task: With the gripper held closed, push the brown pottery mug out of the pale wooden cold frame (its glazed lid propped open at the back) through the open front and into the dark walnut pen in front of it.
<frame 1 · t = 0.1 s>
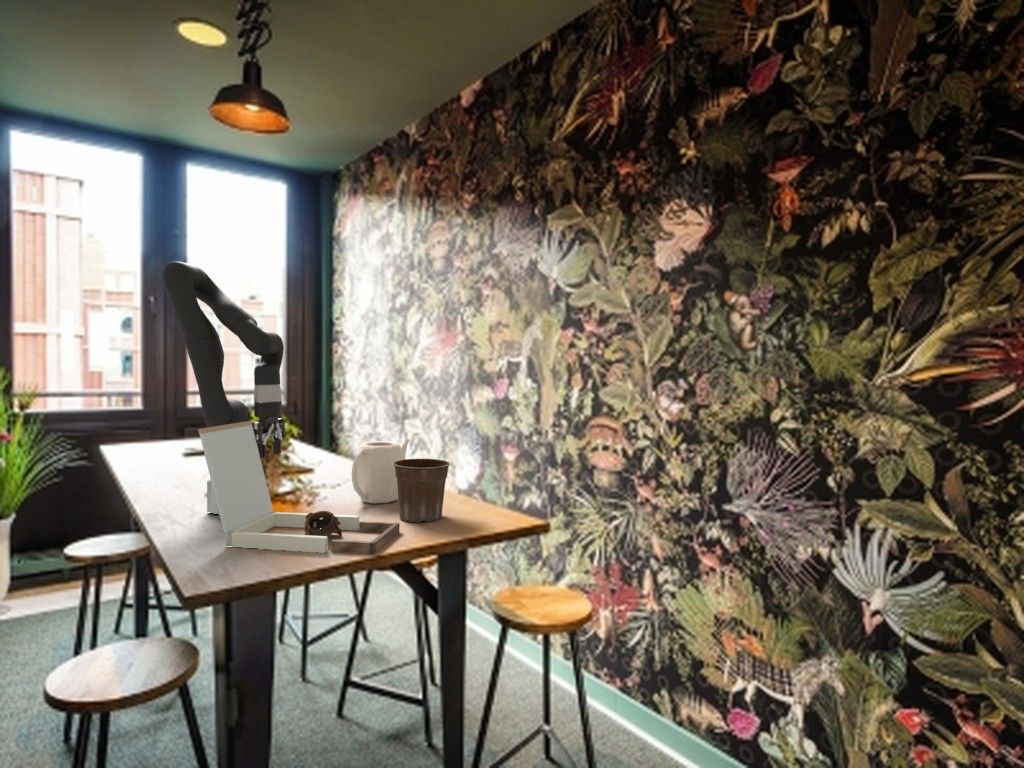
hand: (269, 455, 175), 17 cm above the table, tool pointing down, fingers open, 8 cm apart
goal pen: (366, 541, 150), on the table
plant pot: (421, 518, 174), on the table
watering can: (382, 500, 196), on the table
pottery mug: (321, 540, 152), on the table
cold frame: (296, 537, 152), on the table
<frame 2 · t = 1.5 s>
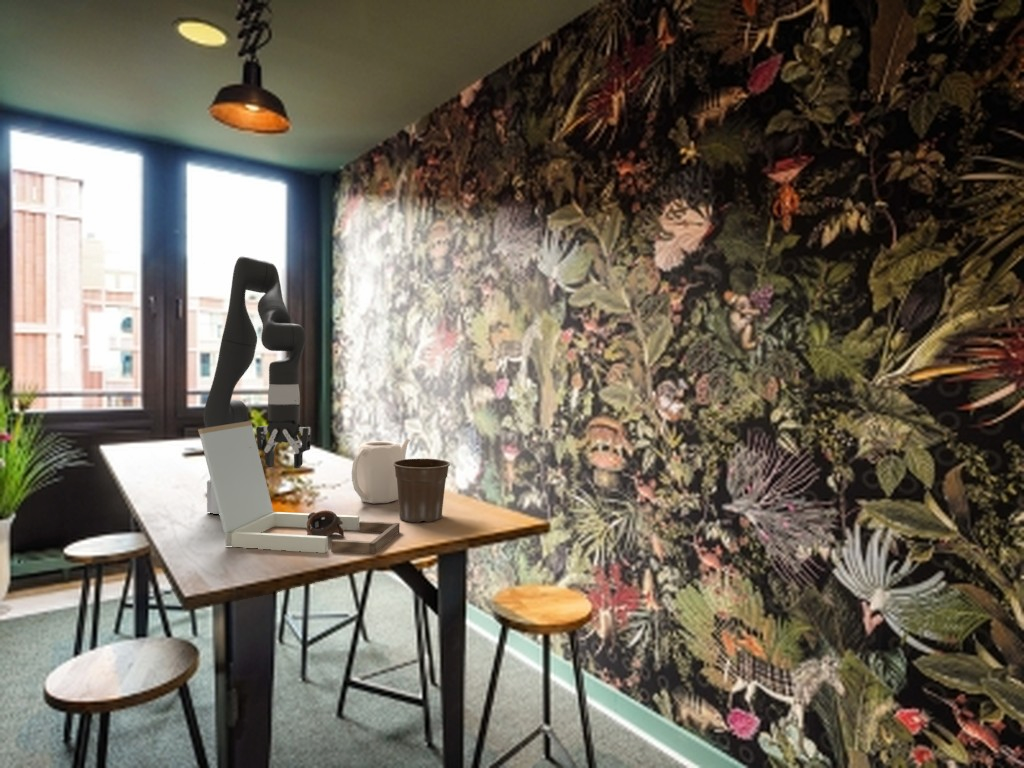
hand: (284, 467, 152), 18 cm above the table, tool pointing down, fingers open, 6 cm apart
nothing on the table moved.
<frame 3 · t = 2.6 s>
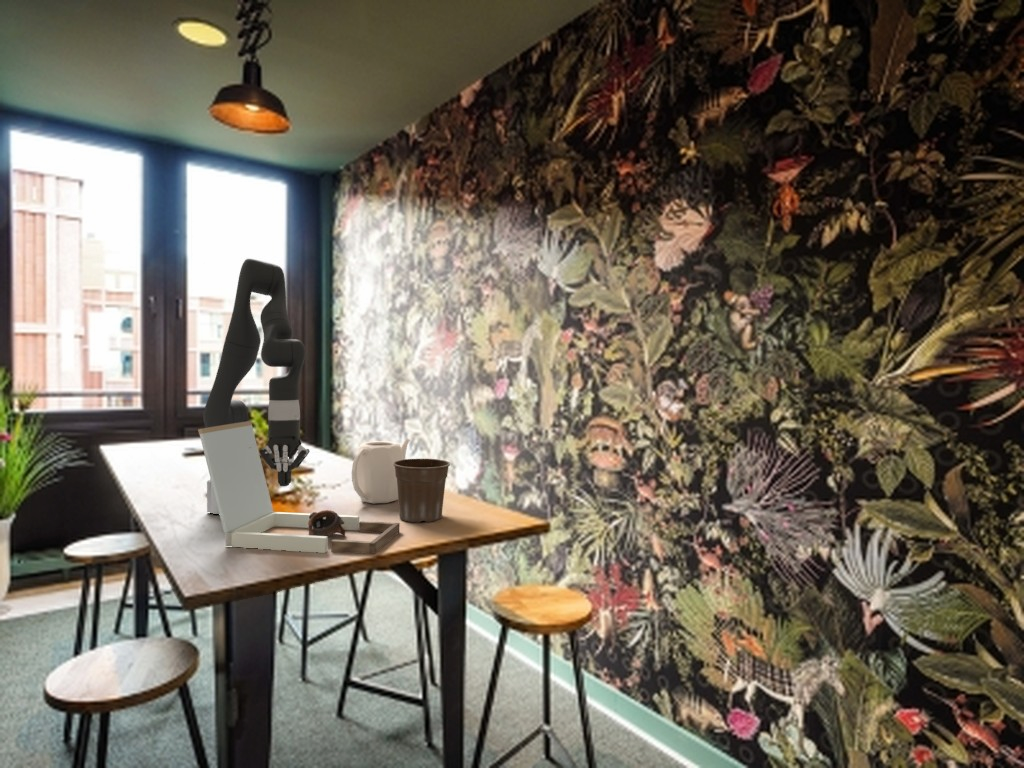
hand: (284, 485, 153), 13 cm above the table, tool pointing down, fingers closed
nothing on the table moved.
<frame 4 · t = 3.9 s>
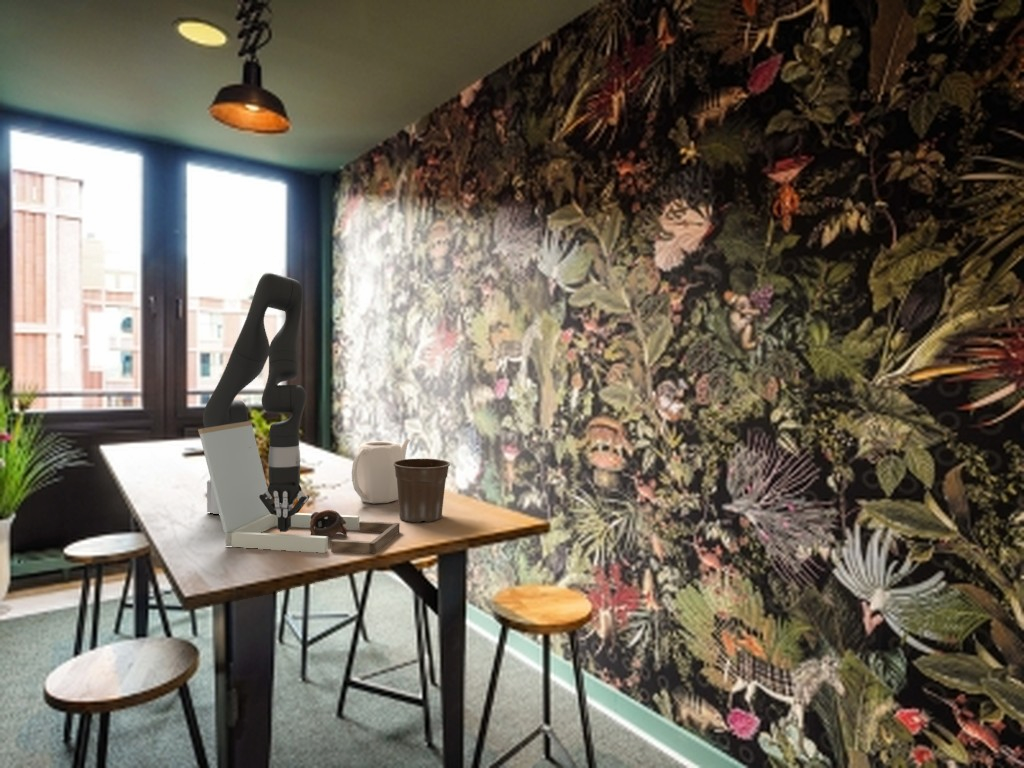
hand: (284, 531, 153), 2 cm above the table, tool pointing down, fingers closed
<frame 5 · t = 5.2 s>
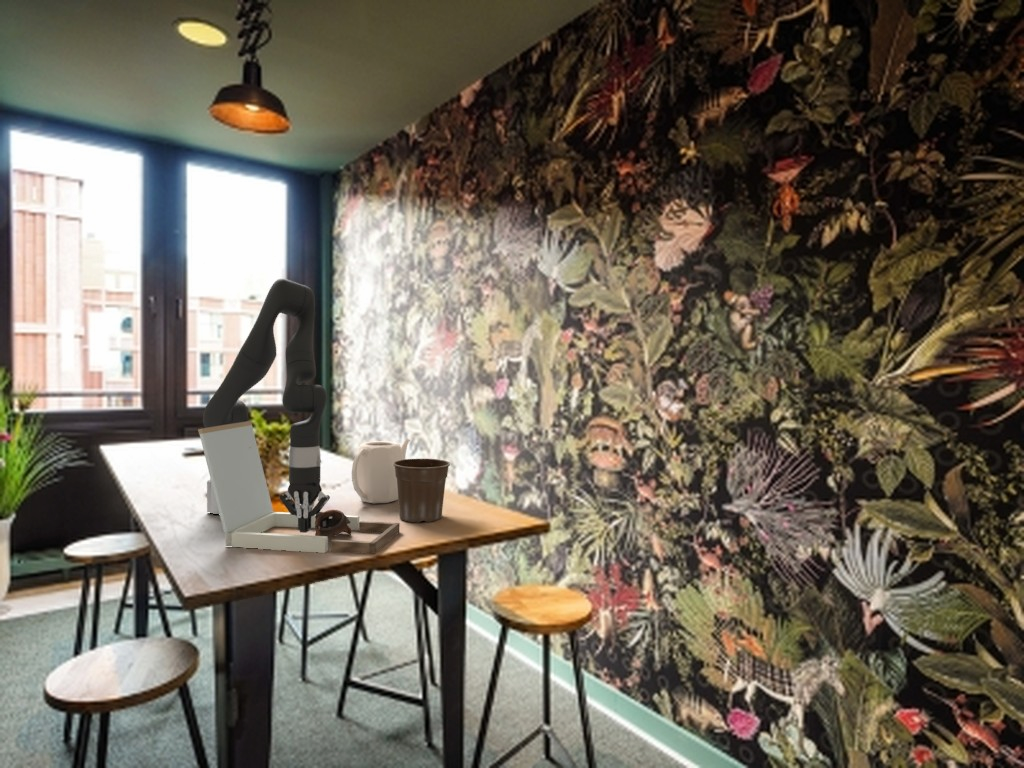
hand: (304, 531, 152), 2 cm above the table, tool pointing down, fingers closed
pottery mug: (330, 538, 153), on the table, touching gripper
everything else where it was.
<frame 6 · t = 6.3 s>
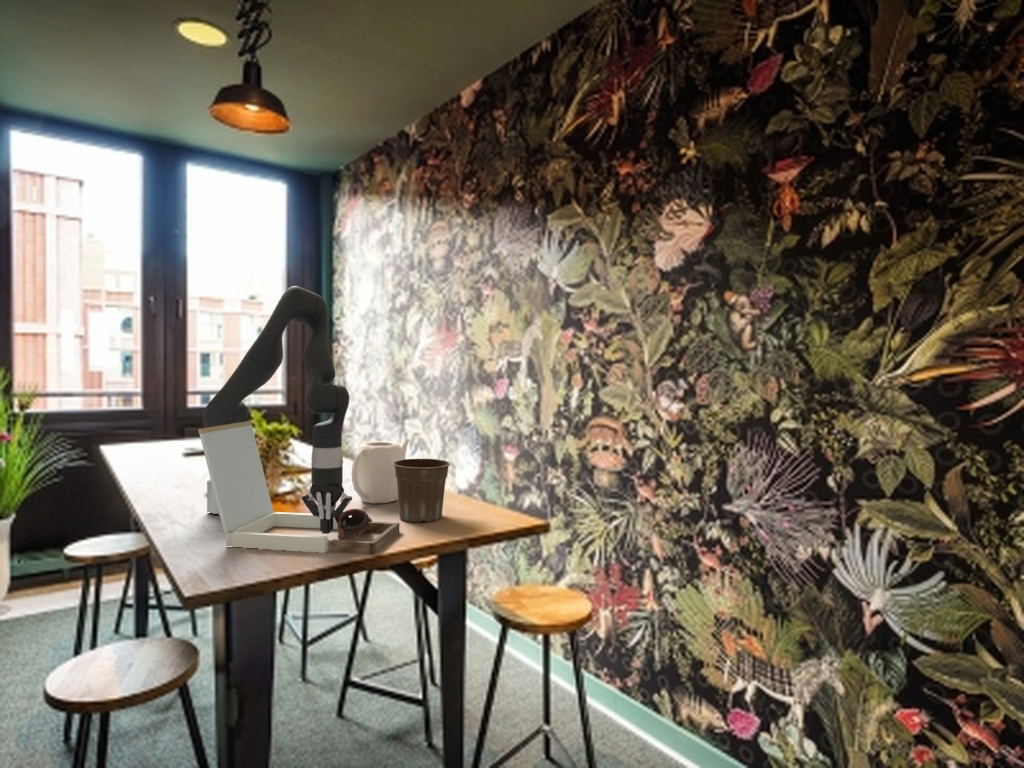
hand: (326, 532, 151), 2 cm above the table, tool pointing down, fingers closed
pottery mug: (352, 537, 154), on the table, touching gripper
everything else where it was.
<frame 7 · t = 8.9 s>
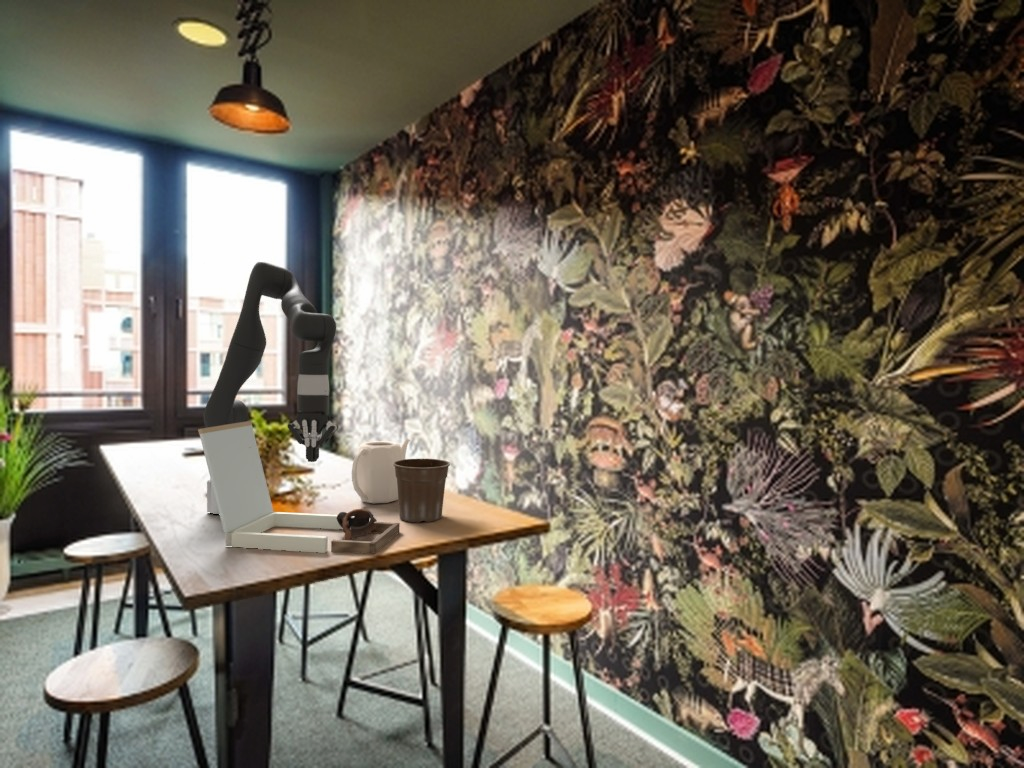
hand: (312, 461, 151), 20 cm above the table, tool pointing down, fingers closed
pottery mug: (356, 538, 154), on the table
everything else where it was.
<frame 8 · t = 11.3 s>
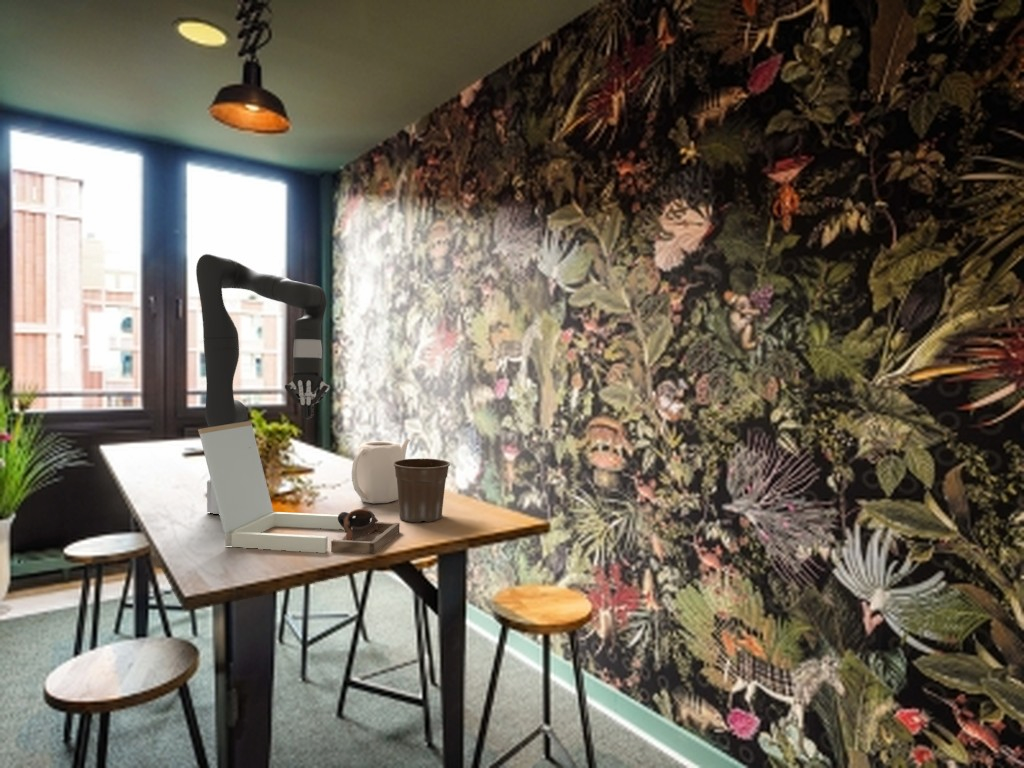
hand: (307, 418, 167), 29 cm above the table, tool pointing down, fingers closed
nothing on the table moved.
at the end: pottery mug inside the target area (4.8 cm from its centre), on the table; pottery mug tilted 0°; pottery mug moved 9.0 cm from its start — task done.
